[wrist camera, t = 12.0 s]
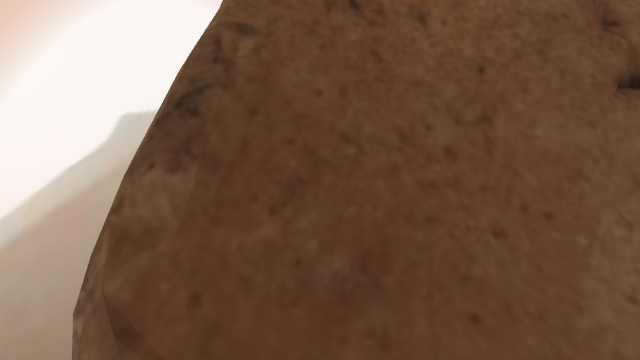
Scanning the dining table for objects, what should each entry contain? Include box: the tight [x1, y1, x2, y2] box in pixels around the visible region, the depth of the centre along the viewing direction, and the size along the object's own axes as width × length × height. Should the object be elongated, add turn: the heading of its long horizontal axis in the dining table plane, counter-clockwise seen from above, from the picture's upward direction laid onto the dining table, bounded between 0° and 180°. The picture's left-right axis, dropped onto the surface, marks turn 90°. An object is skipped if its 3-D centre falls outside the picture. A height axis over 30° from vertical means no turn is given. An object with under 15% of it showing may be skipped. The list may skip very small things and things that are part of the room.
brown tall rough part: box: [72, 0, 640, 360], centre depth 13 cm, size 11×8×20 cm
